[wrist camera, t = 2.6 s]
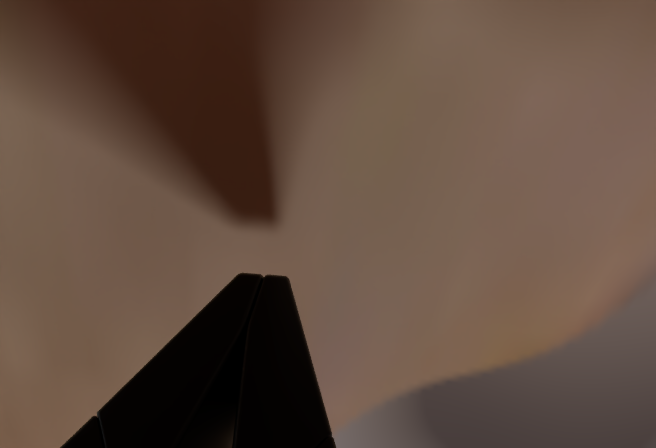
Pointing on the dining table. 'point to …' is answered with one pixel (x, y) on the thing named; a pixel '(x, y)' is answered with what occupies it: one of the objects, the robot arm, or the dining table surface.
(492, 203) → the dining table surface
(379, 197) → the dining table surface
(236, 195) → the dining table surface
